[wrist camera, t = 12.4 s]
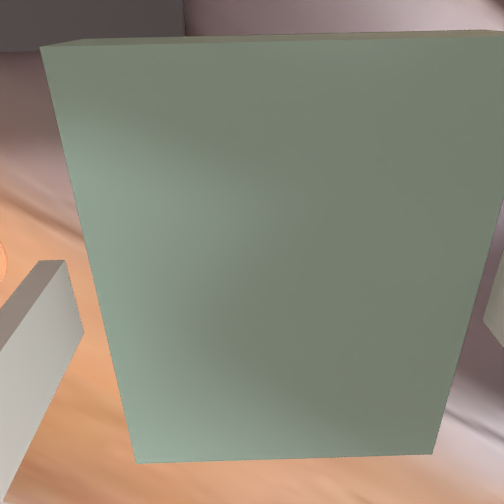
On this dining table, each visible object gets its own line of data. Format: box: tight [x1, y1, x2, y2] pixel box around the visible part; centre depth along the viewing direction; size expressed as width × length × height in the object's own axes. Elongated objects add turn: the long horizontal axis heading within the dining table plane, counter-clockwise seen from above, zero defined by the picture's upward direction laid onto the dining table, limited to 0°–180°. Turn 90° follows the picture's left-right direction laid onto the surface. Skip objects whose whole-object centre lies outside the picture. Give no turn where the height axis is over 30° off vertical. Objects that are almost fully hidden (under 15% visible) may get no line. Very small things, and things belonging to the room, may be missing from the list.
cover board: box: [40, 30, 504, 464], centre depth 14 cm, size 11×14×3 cm
